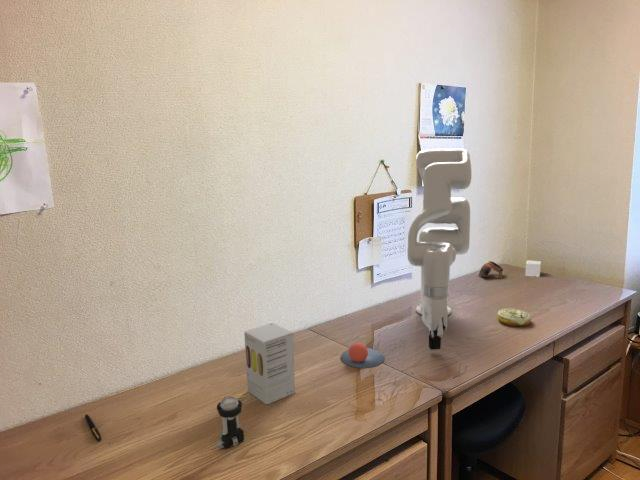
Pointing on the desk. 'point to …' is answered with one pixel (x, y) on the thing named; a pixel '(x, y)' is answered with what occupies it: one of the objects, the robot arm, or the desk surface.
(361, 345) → the ball
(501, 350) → the desk surface
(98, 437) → the fountain pen
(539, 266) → the white cube
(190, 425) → the desk surface
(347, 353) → the disc
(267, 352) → the supplement box
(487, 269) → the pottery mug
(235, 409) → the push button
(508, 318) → the decorated donut
